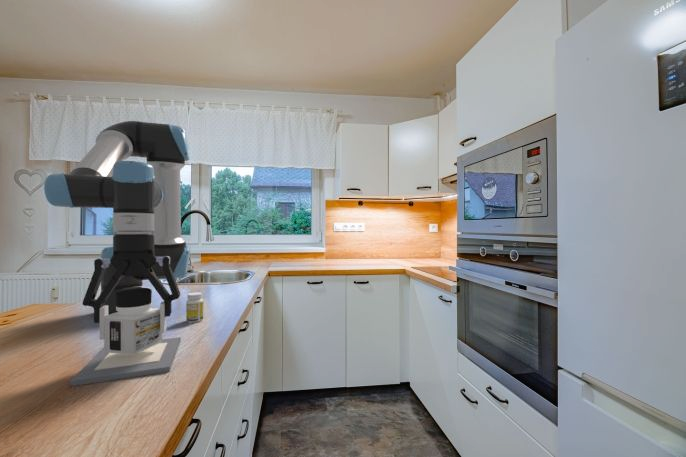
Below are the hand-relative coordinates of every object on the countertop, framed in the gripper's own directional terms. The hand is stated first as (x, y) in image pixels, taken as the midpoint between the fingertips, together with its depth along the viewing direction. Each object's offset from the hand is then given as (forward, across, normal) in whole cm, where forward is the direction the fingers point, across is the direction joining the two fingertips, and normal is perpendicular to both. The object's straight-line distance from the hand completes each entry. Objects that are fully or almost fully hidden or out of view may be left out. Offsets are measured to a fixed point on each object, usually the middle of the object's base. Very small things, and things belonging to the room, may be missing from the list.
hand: (134, 334), depth 68 cm
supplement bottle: (+6, +10, +27) cm, 29 cm away
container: (+3, 0, 0) cm, 3 cm away
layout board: (+6, 0, 0) cm, 6 cm away
